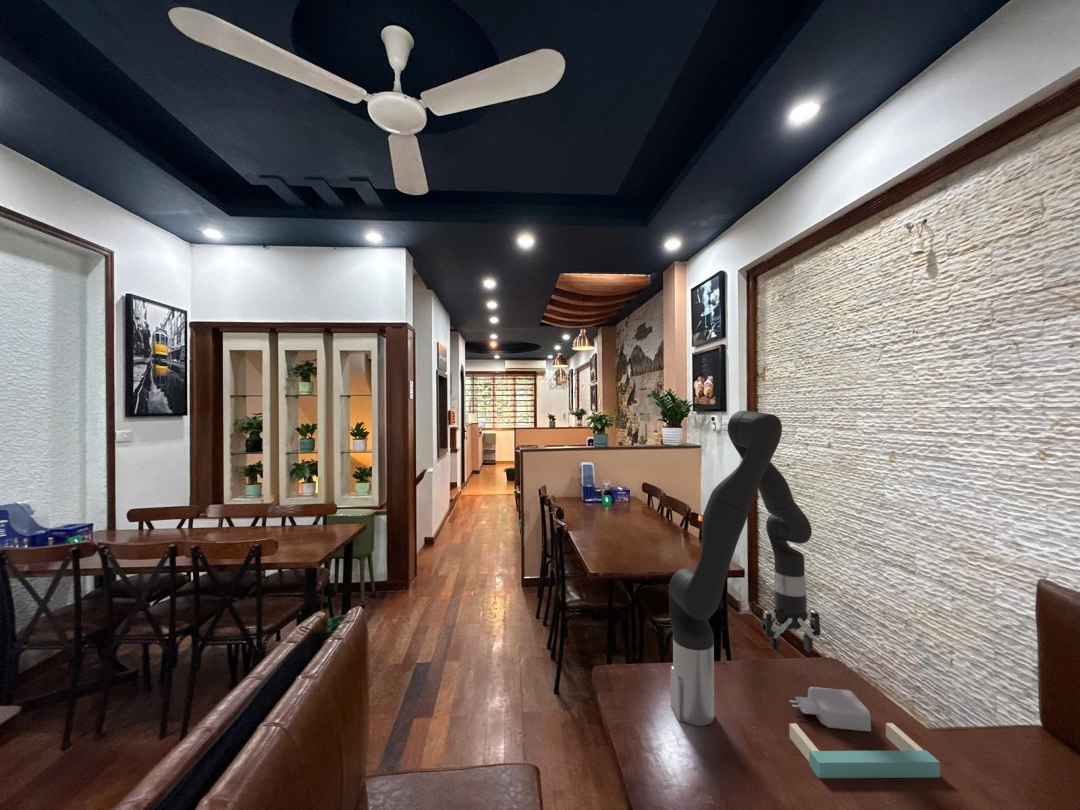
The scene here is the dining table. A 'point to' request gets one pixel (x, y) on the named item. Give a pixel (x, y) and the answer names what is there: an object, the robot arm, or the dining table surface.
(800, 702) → the charger
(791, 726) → the stop bay
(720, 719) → the dining table surface
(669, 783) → the dining table surface
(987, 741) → the dining table surface
